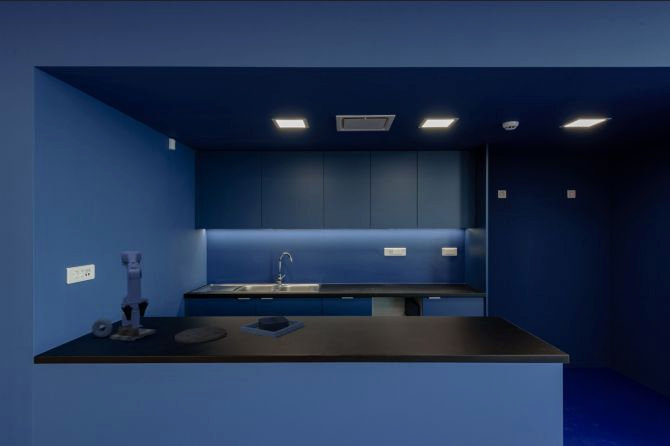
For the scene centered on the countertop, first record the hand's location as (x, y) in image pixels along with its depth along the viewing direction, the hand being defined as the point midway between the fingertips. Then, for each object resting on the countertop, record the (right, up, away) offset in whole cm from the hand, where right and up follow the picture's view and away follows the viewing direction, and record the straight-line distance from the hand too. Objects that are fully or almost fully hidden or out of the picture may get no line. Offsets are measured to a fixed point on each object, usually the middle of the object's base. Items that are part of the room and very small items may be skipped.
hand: (135, 318), depth 193 cm
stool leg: (-5, -9, +2) cm, 10 cm away
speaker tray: (+69, -9, +12) cm, 70 cm away
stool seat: (-4, -10, +6) cm, 13 cm away
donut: (-20, -11, +4) cm, 23 cm away
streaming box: (+69, -9, +12) cm, 71 cm away
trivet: (+33, -10, +1) cm, 35 cm away
